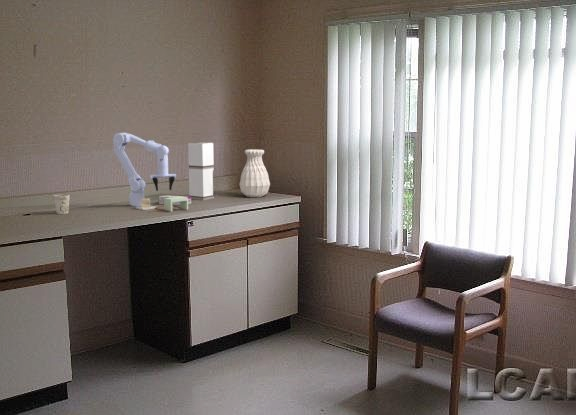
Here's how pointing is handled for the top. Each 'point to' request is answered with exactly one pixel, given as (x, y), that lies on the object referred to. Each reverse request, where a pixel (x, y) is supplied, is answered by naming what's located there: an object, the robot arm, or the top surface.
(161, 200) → the candy bar box
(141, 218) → the top surface
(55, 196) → the mug
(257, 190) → the vase
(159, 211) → the puzzle board
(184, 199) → the hood
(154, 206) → the tray
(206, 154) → the white two-part pillar
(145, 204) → the block
